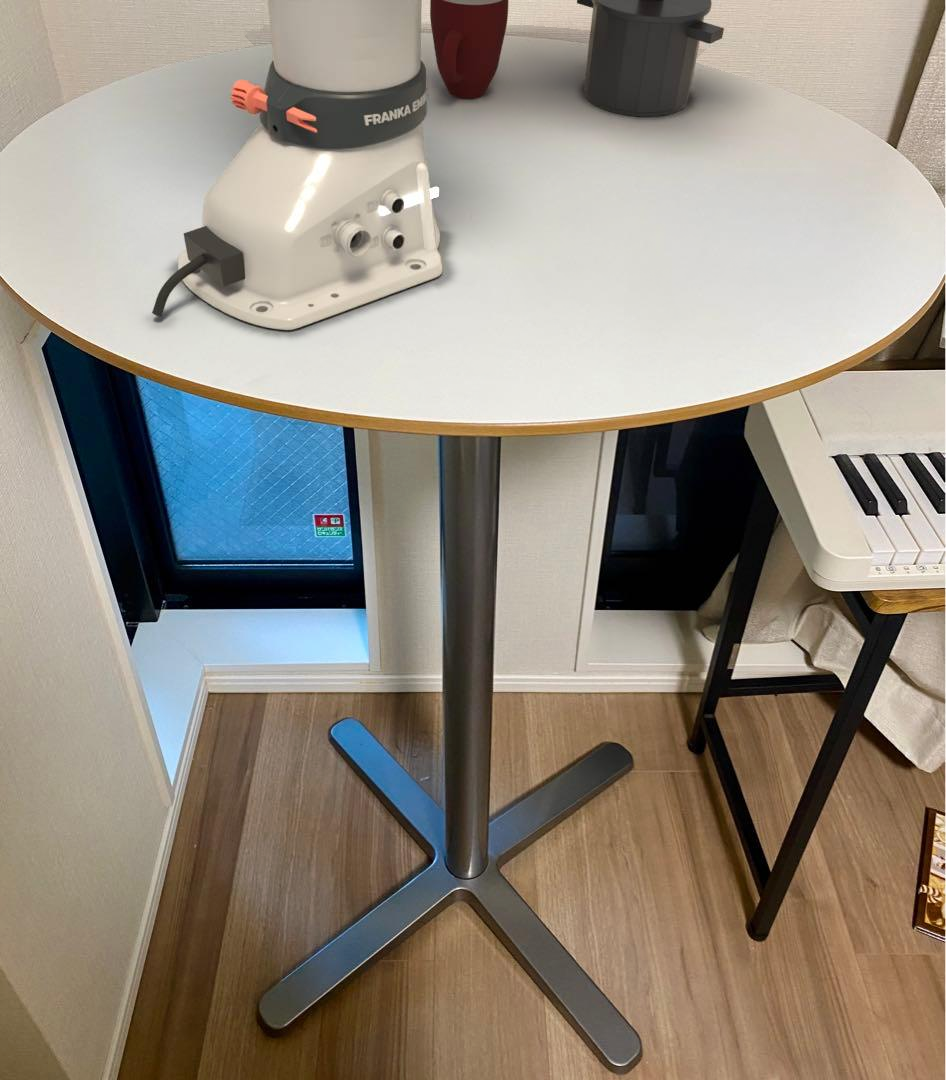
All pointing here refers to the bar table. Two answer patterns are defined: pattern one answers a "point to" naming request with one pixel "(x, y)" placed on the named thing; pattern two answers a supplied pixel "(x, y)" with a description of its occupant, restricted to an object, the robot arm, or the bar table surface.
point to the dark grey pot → (642, 63)
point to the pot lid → (656, 9)
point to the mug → (468, 43)
